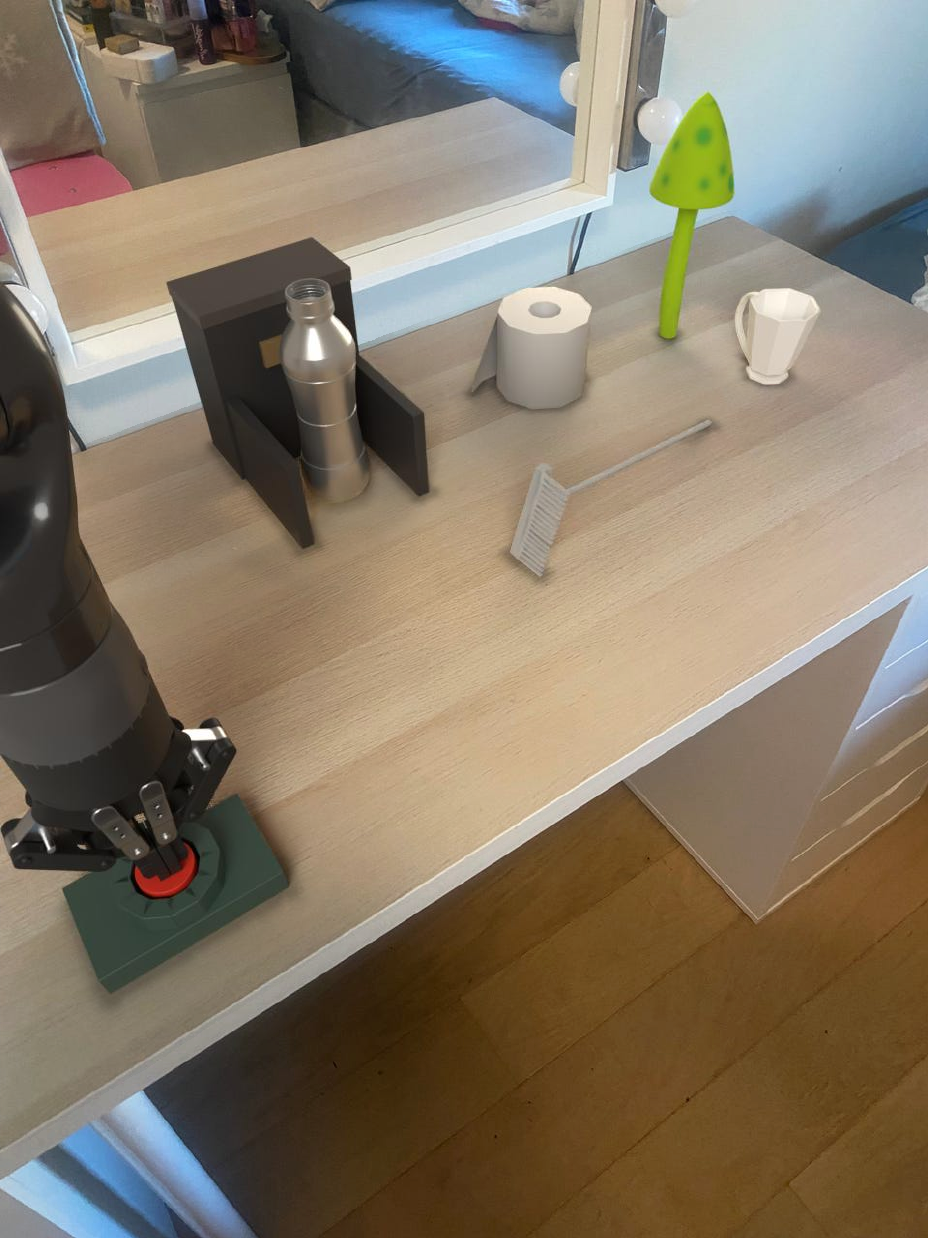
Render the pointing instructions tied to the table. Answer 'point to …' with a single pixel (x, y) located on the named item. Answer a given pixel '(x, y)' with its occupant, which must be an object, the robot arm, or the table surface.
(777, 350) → the cup
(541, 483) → the brush
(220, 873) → the control pad
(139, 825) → the robot arm
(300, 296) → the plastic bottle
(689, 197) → the mushroom
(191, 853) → the stop button
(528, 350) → the toilet tissue
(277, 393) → the dark box with flaps
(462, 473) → the table surface
